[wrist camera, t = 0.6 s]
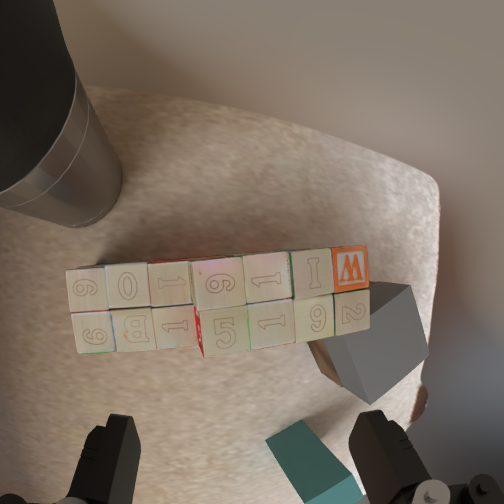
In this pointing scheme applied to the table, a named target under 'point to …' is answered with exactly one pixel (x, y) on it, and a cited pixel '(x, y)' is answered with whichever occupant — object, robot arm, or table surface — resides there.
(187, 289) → the stack of blocks
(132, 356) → the table surface
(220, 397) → the table surface
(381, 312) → the tower top block
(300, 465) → the teal pillar
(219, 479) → the table surface
